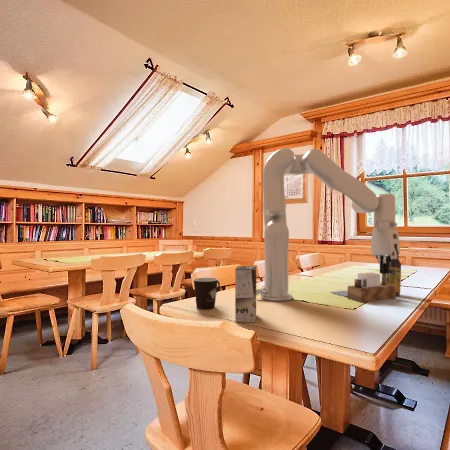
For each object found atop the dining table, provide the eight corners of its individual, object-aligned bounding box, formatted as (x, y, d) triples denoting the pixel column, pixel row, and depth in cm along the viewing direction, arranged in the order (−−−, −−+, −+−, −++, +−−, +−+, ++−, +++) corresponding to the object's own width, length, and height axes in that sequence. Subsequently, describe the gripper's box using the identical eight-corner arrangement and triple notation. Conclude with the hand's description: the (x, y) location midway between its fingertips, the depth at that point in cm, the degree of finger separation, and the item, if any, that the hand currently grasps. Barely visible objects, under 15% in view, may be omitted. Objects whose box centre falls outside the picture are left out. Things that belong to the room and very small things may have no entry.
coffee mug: (199, 311, 111) (199, 282, 111) (190, 306, 118) (190, 278, 118) (229, 307, 116) (229, 279, 116) (218, 302, 124) (218, 276, 124)
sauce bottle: (384, 295, 136) (384, 248, 136) (383, 292, 142) (383, 247, 142) (402, 297, 134) (402, 248, 134) (400, 294, 140) (400, 247, 140)
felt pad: (345, 297, 133) (345, 296, 133) (330, 292, 142) (330, 292, 142) (367, 294, 138) (367, 293, 138) (352, 290, 146) (352, 290, 146)
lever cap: (366, 287, 127) (366, 275, 127) (357, 285, 131) (357, 273, 131) (380, 286, 130) (380, 274, 130) (371, 284, 134) (371, 272, 134)
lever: (397, 274, 124) (397, 271, 124) (389, 274, 124) (389, 271, 124) (385, 271, 135) (385, 267, 135) (378, 271, 135) (378, 267, 135)
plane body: (360, 302, 124) (360, 275, 124) (347, 298, 131) (347, 273, 131) (395, 298, 131) (395, 273, 131) (381, 295, 137) (381, 270, 137)
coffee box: (256, 323, 98) (256, 269, 98) (234, 322, 98) (234, 269, 98) (256, 314, 107) (256, 265, 107) (236, 314, 108) (236, 265, 108)
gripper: (408, 226, 121) (408, 275, 121) (376, 226, 135) (376, 270, 135) (393, 225, 118) (393, 276, 118) (362, 226, 132) (362, 271, 132)
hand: (384, 273), depth 126 cm, fingers closed
